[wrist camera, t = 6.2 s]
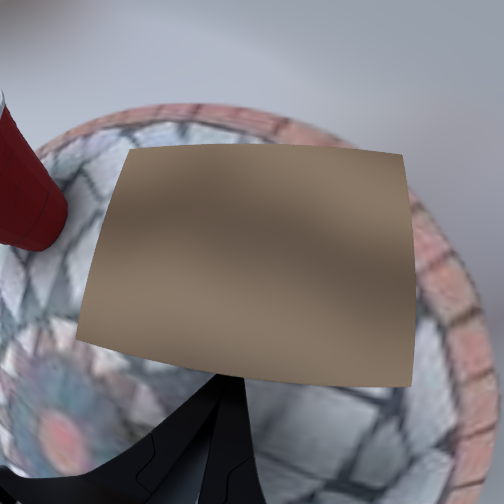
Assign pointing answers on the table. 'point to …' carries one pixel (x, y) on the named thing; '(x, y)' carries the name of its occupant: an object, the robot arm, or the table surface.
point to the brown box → (259, 264)
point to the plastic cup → (26, 192)
